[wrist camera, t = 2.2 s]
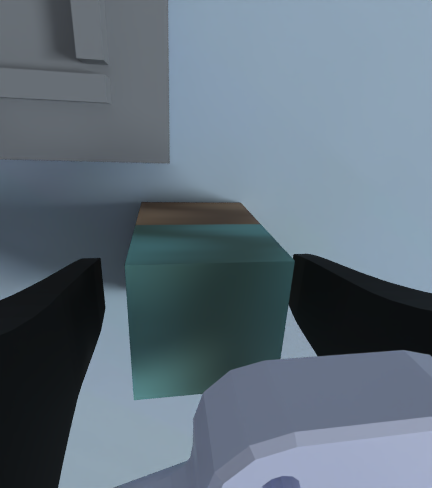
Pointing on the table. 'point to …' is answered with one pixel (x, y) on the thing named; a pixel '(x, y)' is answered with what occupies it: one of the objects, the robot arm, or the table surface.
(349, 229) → the table surface
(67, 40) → the plate
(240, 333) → the block stack
